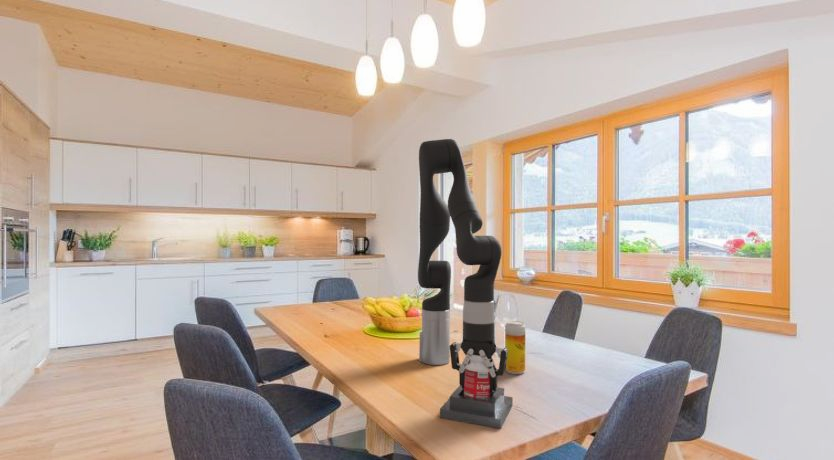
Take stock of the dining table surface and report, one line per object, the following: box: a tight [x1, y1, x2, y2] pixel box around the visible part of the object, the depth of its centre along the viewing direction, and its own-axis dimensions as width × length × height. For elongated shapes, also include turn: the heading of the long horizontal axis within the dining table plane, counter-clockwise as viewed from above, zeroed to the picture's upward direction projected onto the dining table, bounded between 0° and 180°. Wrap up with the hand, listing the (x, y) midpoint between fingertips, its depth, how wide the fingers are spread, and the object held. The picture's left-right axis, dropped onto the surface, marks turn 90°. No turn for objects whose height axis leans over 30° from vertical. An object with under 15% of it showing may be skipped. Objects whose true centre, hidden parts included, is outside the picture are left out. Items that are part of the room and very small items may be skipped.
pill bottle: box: [464, 355, 491, 400], centre depth 102 cm, size 6×6×11 cm
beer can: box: [504, 320, 526, 375], centre depth 132 cm, size 6×6×15 cm
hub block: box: [439, 385, 514, 430], centre depth 102 cm, size 14×14×4 cm
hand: (478, 389), depth 102 cm, fingers closed on pill bottle, 6 cm apart
